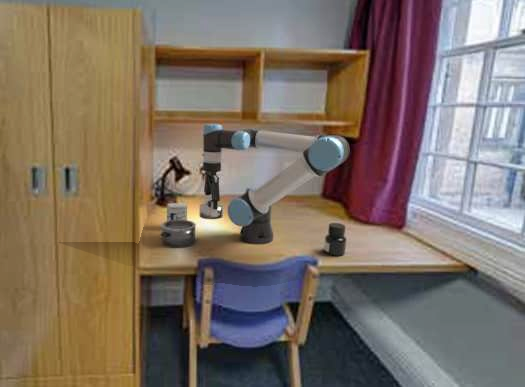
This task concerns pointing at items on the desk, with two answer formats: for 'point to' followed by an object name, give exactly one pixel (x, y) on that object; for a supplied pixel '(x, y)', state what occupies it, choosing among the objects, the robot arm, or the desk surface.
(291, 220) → the desk surface
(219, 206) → the lid
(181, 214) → the ink box
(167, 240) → the pot
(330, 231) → the ink bottle
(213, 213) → the robot arm
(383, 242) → the desk surface
